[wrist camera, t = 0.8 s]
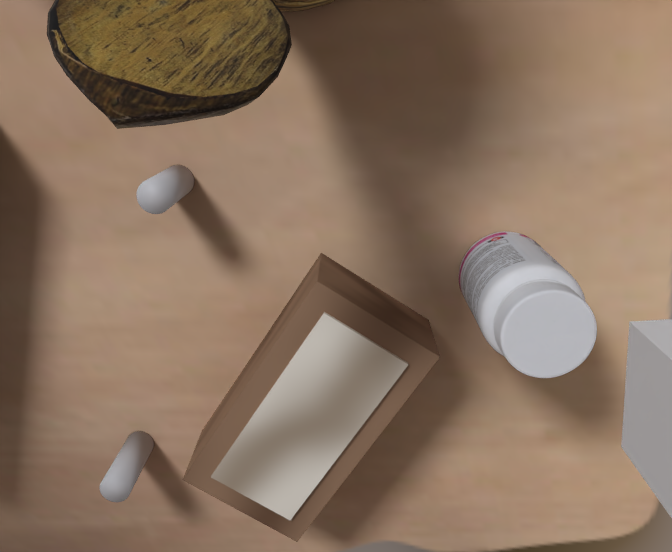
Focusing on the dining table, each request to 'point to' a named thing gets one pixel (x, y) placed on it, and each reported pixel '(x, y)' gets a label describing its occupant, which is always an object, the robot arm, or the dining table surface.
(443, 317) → the dining table surface
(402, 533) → the dining table surface
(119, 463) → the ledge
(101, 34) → the wooden mug
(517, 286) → the pill bottle
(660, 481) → the robot arm
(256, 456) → the frame
